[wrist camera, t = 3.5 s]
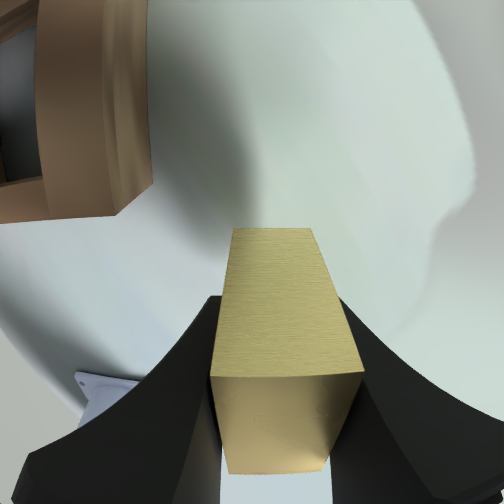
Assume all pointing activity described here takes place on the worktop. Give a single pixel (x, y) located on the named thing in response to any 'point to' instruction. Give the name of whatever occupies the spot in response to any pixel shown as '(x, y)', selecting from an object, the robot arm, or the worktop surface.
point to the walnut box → (82, 108)
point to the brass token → (281, 355)
